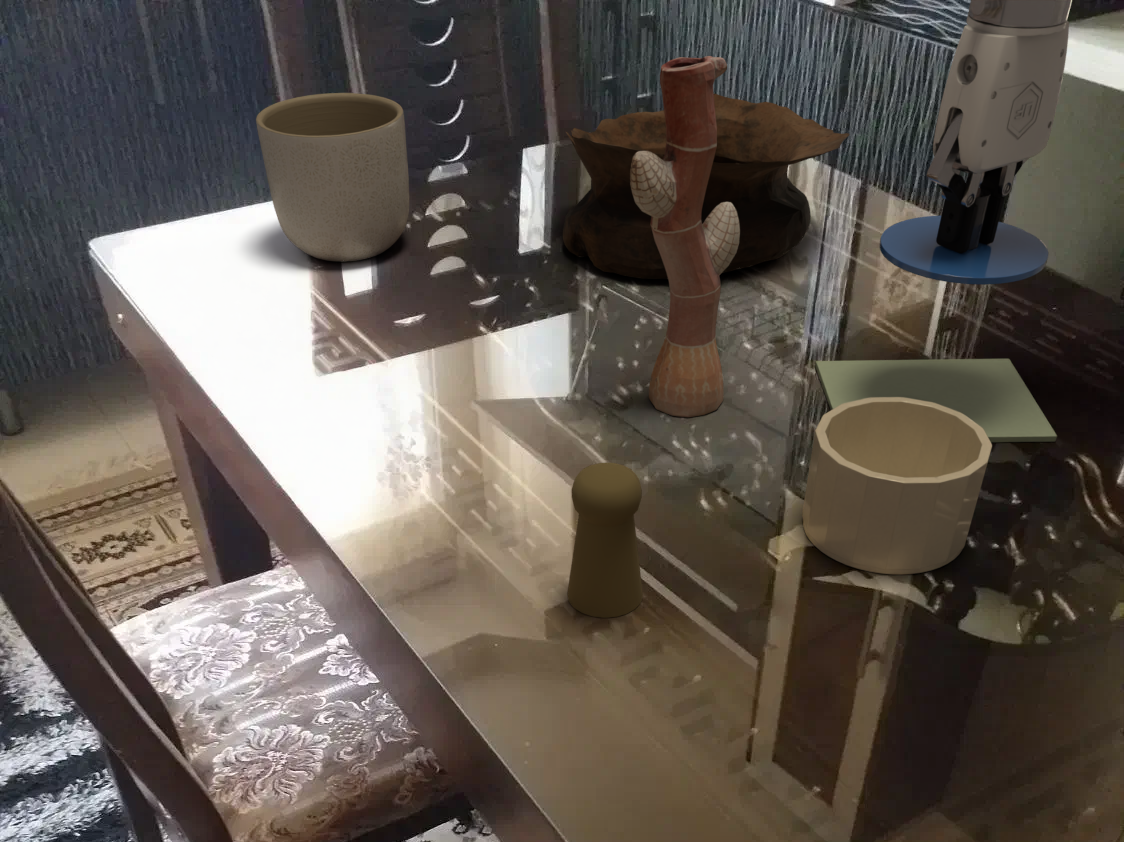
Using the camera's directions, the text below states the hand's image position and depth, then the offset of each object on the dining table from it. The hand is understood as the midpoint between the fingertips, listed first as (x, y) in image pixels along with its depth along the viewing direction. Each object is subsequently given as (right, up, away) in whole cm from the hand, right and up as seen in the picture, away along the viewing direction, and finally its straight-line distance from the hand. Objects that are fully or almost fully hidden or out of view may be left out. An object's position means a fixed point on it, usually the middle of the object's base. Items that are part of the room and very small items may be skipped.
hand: (964, 241), depth 103 cm
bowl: (-20, +19, +42) cm, 50 cm away
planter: (-63, +17, +41) cm, 77 cm away
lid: (0, -1, +1) cm, 1 cm away
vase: (-25, -11, +12) cm, 29 cm away
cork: (-33, -33, -11) cm, 48 cm away
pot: (-9, -26, -5) cm, 28 cm away
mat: (0, -11, +11) cm, 15 cm away
